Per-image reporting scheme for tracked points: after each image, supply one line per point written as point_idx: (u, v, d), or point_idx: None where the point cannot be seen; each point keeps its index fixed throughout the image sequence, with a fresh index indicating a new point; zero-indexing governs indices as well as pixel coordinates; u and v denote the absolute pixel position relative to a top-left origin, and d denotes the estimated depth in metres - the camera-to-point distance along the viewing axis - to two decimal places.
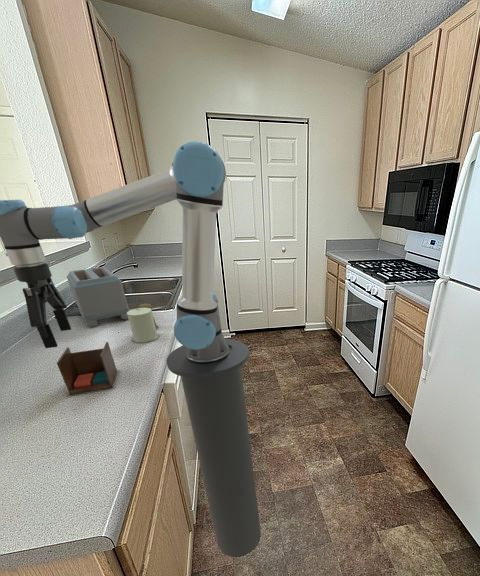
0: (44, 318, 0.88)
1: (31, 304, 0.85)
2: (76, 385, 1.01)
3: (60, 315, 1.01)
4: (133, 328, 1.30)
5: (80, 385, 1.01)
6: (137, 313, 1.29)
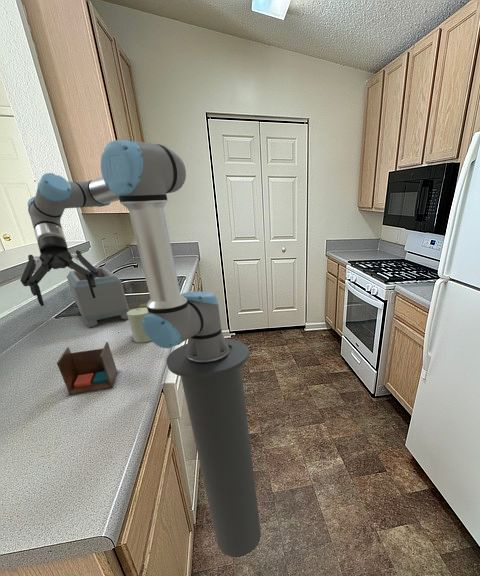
0: (32, 277, 0.99)
1: None
2: (76, 385, 1.01)
3: (88, 282, 1.05)
4: (133, 328, 1.30)
5: (80, 385, 1.01)
6: (137, 313, 1.29)
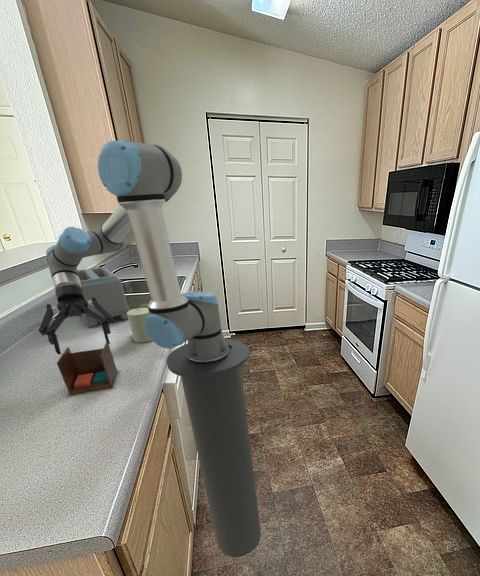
0: (50, 327, 1.02)
1: None
2: (76, 385, 1.01)
3: (103, 329, 1.08)
4: (133, 328, 1.30)
5: (80, 385, 1.01)
6: (137, 313, 1.29)
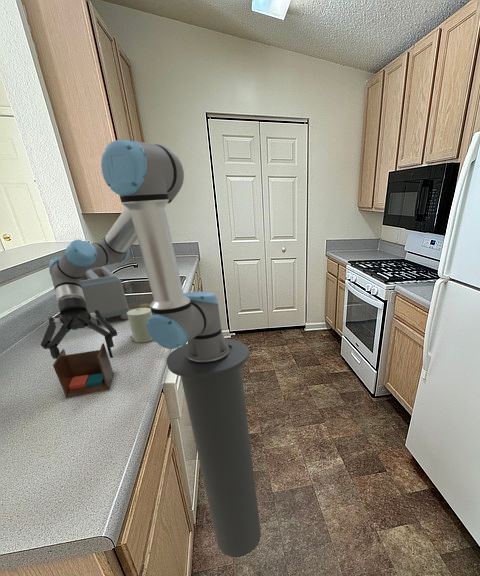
0: (52, 341, 1.00)
1: None
2: (71, 387, 1.00)
3: (106, 342, 1.06)
4: (133, 328, 1.30)
5: (75, 387, 1.00)
6: (137, 313, 1.29)
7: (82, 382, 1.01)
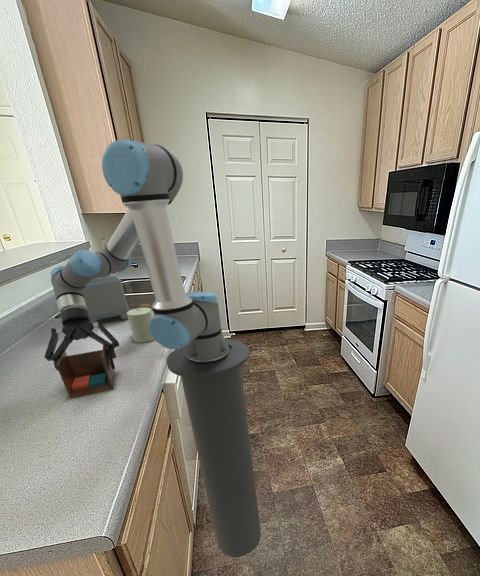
0: (56, 352, 0.99)
1: None
2: (74, 387, 1.00)
3: (108, 354, 1.05)
4: (133, 328, 1.30)
5: (78, 387, 1.00)
6: (137, 313, 1.29)
7: (85, 382, 1.01)
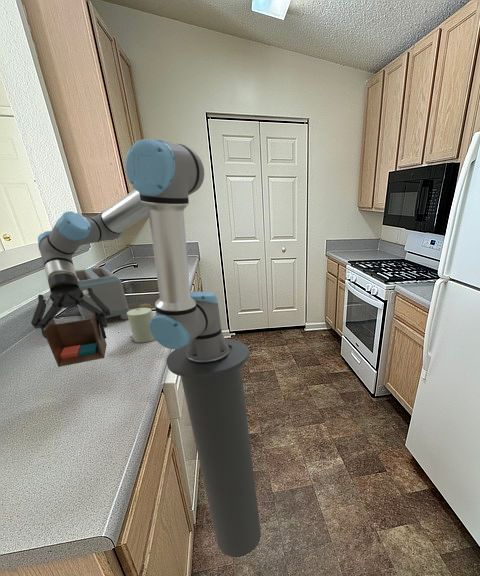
0: (43, 319, 0.94)
1: None
2: (63, 356, 0.95)
3: (99, 322, 1.00)
4: (133, 328, 1.30)
5: (67, 356, 0.95)
6: (137, 313, 1.29)
7: (74, 351, 0.96)
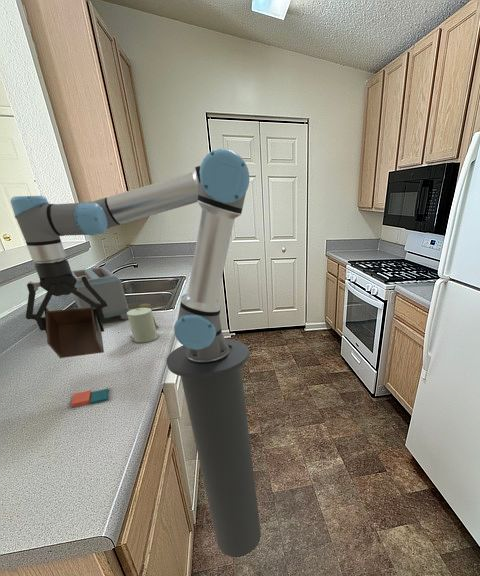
0: (38, 313, 0.90)
1: None
2: None
3: (96, 315, 0.98)
4: (133, 328, 1.30)
5: None
6: (137, 313, 1.29)
7: None
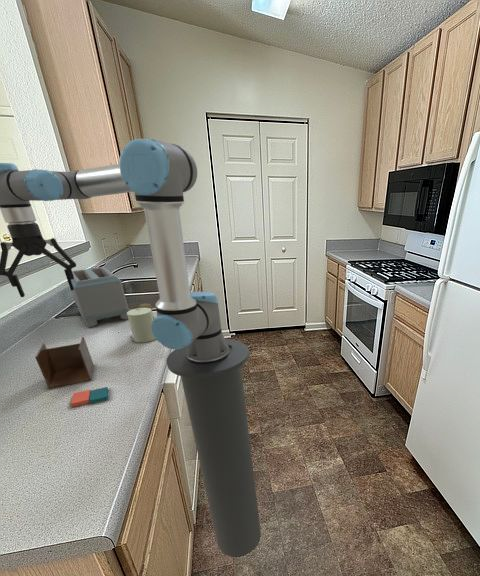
0: (9, 270, 1.01)
1: None
2: None
3: (66, 275, 1.09)
4: (133, 328, 1.30)
5: None
6: (137, 313, 1.29)
7: None
